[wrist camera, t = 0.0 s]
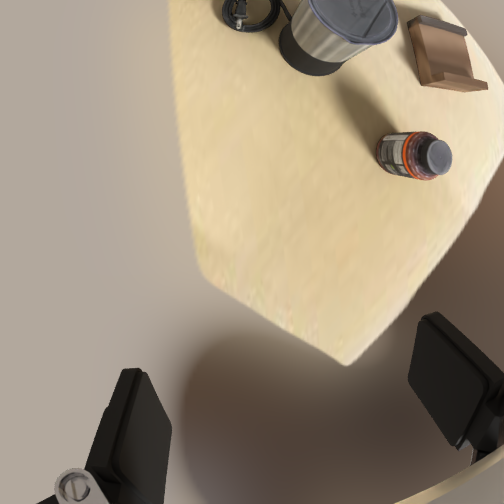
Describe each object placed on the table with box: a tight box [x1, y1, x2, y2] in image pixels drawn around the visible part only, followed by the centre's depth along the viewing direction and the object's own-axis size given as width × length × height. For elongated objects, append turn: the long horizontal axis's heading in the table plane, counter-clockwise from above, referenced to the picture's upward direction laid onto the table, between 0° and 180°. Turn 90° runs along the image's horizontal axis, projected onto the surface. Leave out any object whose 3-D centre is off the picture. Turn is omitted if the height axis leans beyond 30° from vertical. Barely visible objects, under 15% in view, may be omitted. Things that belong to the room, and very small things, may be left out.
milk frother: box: [222, 0, 398, 76], centre depth 25 cm, size 14×16×15 cm
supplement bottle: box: [376, 132, 452, 180], centre depth 32 cm, size 6×6×11 cm
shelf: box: [407, 15, 488, 92], centre depth 30 cm, size 12×10×6 cm
